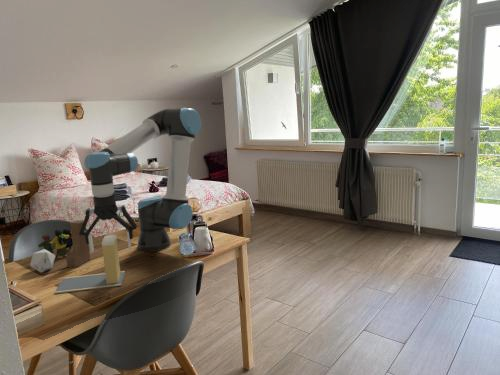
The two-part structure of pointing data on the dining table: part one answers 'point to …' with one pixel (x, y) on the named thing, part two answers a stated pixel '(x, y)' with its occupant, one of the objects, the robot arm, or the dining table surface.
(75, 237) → the wooden block
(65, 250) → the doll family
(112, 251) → the ochre slab
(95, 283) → the felt mat
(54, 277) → the dining table surface
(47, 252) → the die
